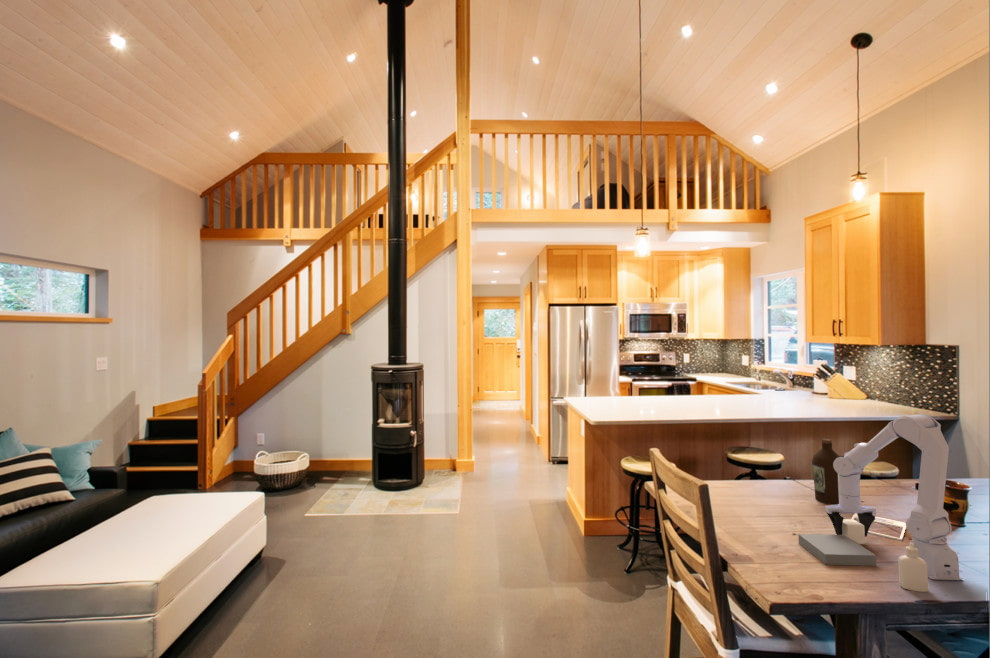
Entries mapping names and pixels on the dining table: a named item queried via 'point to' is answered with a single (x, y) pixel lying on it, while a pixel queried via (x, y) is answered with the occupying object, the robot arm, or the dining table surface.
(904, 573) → the eye dropper bottle
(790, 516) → the dining table surface
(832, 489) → the olive oil
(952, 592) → the dining table surface
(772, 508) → the dining table surface
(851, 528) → the cream block
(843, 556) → the base plinth
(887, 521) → the photo frame
